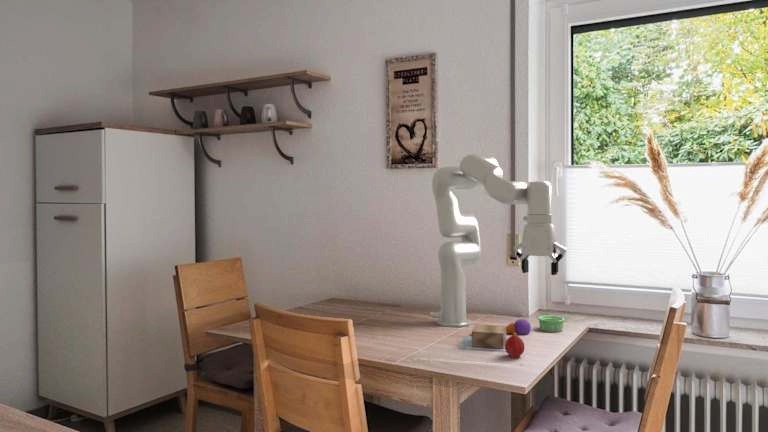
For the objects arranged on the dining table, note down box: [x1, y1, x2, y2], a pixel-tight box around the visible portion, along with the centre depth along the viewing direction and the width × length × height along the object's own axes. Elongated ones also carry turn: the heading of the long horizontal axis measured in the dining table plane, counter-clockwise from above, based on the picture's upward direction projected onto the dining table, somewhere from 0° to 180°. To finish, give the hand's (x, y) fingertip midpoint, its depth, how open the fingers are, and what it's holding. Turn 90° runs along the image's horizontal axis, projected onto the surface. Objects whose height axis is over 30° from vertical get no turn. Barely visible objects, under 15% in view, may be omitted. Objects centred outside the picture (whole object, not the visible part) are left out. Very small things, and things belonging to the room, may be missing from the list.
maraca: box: [506, 318, 532, 336], centre depth 202 cm, size 6×6×20 cm
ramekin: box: [538, 315, 565, 333], centre depth 211 cm, size 9×9×4 cm
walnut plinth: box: [471, 324, 507, 349], centre depth 189 cm, size 10×10×5 cm
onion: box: [505, 333, 525, 358], centre depth 175 cm, size 6×6×8 cm
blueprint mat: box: [457, 336, 508, 353], centre depth 189 cm, size 18×16×1 cm
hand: (539, 273), depth 185 cm, fingers open, 9 cm apart
